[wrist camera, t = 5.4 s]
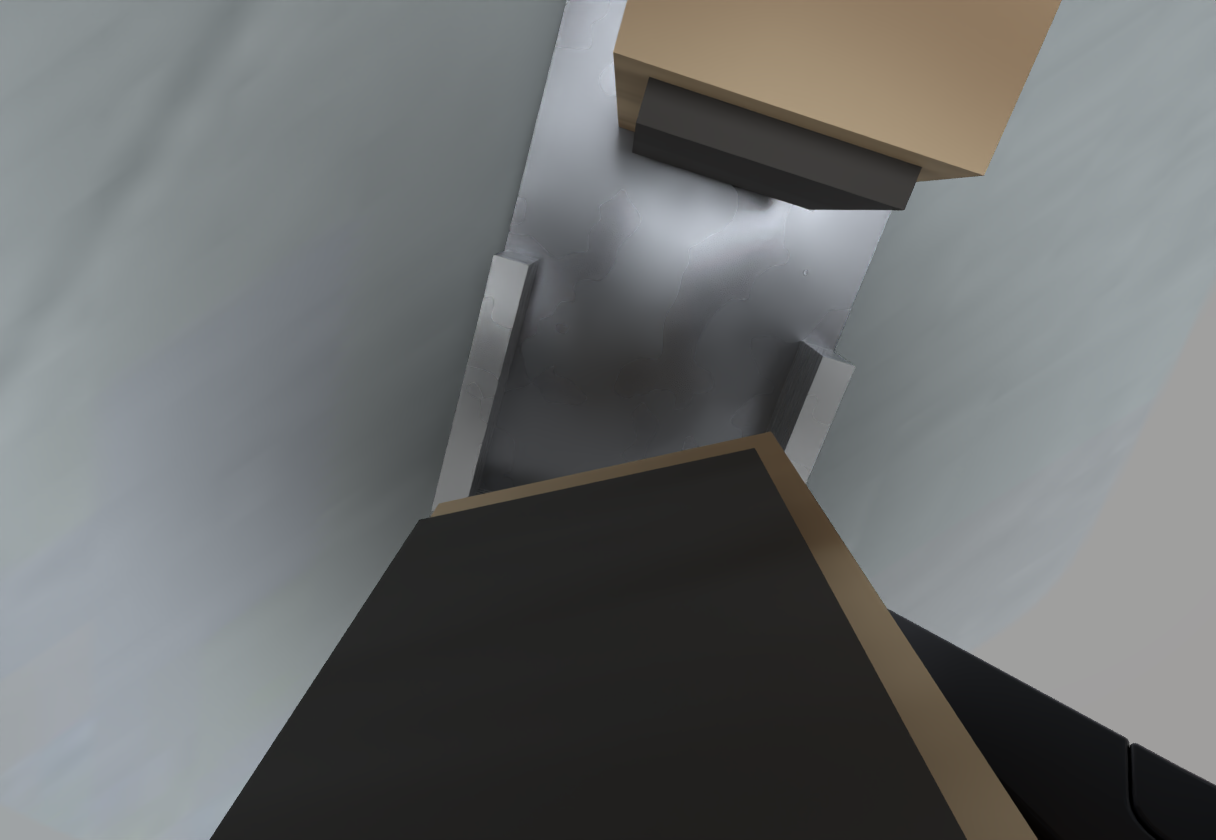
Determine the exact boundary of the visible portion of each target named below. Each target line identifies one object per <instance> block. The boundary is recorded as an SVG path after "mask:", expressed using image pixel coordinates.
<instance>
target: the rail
mask: <svg viewBox="0 0 1216 840" xmlns="http://www.w3.org/2000/svg"><path fill="white" fill-rule="evenodd" d="M626 3H627V0H567V1H566V5H565V9H564V13H563V17H562V21H561V25H560V29H559V33H558V37H557V41H556V45H555V49H554V53H553V57H552V61H551V65H550V69H549V73H548V77H547V81H546V85H545V89H544V93H543V97H542V101H541V105H540V109H539V113H538V117H537V121H536V125H535V129H534V133H533V137H532V141H531V145H530V149H529V153H528V157H527V161H526V165H525V169H524V173H523V177H522V181H521V185H520V189H519V193H518V197H517V201H516V205H515V209H514V213H513V217H512V221H511V225H510V229H509V233H508V237H507V241H506V245H505V250H504V251H503V252H500V253H497V254H494V256H493V260H492V265H491V269H490V273H489V277H488V281H487V285H486V289H485V293H484V297H483V301H482V305H481V309H480V314H479V318H478V322H477V326H476V330H475V334H474V338H473V342H472V346H471V350H470V354H469V358H468V363H467V367H466V371H465V375H464V379H463V383H462V387H461V391H460V395H459V399H458V403H457V407H456V412H455V416H454V420H453V424H452V428H451V432H450V436H449V440H448V444H447V448H446V452H445V456H444V460H443V465H442V469H441V473H440V477H439V481H438V485H437V489H436V493H435V497H434V501H433V505H432V509H431V514H430V517H431V515H432V514H433V512H434V510H435V509H436V507H437V506H438V504H439V503H443V502H448V501H453V500H457V499H462V498H466V497H471V496H476V495H480V494H485V493H490V492H494V491H499V490H503V489H508V488H513V487H517V486H522V485H526V484H531V483H536V482H540V481H545V480H550V479H554V478H559V477H563V476H568V475H573V474H577V473H582V472H586V471H591V470H596V469H600V468H605V467H609V466H614V465H619V464H623V463H628V462H633V461H637V460H642V459H646V458H651V457H656V456H660V455H665V454H669V453H674V452H679V451H683V450H688V449H693V448H697V447H702V446H706V445H711V444H716V443H720V442H725V441H729V440H734V439H739V438H743V437H748V436H753V435H757V434H762V433H766V432H772V434H773V435H774V437H775V438H776V440H777V441H778V443H779V444H780V446H781V447H782V449H783V450H784V452H785V454H786V455H787V457H788V458H789V460H790V461H791V463H792V464H793V466H794V467H795V469H796V470H797V472H798V473H799V475H800V476H801V478H802V480H803V481H804V483H805V484H806V483H807V481H808V478H809V476H810V473H811V471H812V469H813V466H814V464H815V462H816V459H817V457H818V455H819V452H820V450H821V447H822V445H823V443H824V440H825V438H826V436H827V433H828V431H829V429H830V426H831V424H832V421H833V419H834V417H835V414H836V412H837V410H838V407H839V405H840V403H841V400H842V398H843V395H844V393H845V391H846V388H847V386H848V384H849V381H850V379H851V377H852V374H853V372H854V369H855V367H856V366H854V365H853V364H851V363H850V362H848V361H847V360H846V359H844V358H843V357H841V356H840V355H838V354H837V353H835V352H834V350H835V347H836V345H837V342H838V340H839V338H840V335H841V333H842V330H843V328H844V325H845V323H846V321H847V318H848V316H849V313H850V311H851V308H852V306H853V303H854V301H855V299H856V296H857V294H858V291H859V289H860V286H861V284H862V282H863V279H864V277H865V274H866V272H867V269H868V267H869V265H870V262H871V260H872V257H873V255H874V252H875V250H876V247H877V245H878V243H879V240H880V238H881V235H882V233H883V230H884V228H885V226H886V223H887V221H888V218H889V216H890V213H891V211H892V210H808V209H805V208H802V207H799V206H796V205H793V204H790V203H787V202H784V201H781V200H777V199H774V198H771V197H768V196H765V195H762V194H759V193H756V192H753V191H750V190H747V189H743V188H740V187H737V186H734V185H731V184H728V183H725V182H722V181H719V180H716V179H713V178H709V177H706V176H703V175H700V174H697V173H694V172H691V171H688V170H685V169H682V168H679V167H675V166H672V165H669V164H666V163H663V162H660V161H657V160H654V159H651V158H648V157H645V156H641V155H638V154H635V153H632V149H633V142H634V134H635V132H634V131H630V130H627V129H624V128H621V127H619V124H618V111H617V98H616V84H615V71H614V58H613V51H614V47H615V43H616V40H617V36H618V32H619V29H620V25H621V21H622V18H623V14H624V10H625V7H626Z"/></svg>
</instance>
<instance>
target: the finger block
mask: <svg viewBox="0 0 1216 840" xmlns="http://www.w3.org/2000/svg"><path fill="white" fill-rule="evenodd" d="M210 840H1038V839H1037V837H1036V836H1035V834H1034V833H1033V831H1032V830H1031V828H1030V827H1029V825H1028V824H1027V822H1026V821H1025V819H1024V817H1023V816H1022V814H1021V813H1020V811H1019V810H1018V808H1017V807H1016V805H1015V804H1014V802H1013V801H1012V799H1011V798H1010V796H1009V795H1008V793H1007V791H1006V790H1005V788H1004V787H1003V785H1002V784H1001V782H1000V781H999V779H998V778H997V776H996V775H995V773H994V772H993V770H992V769H991V767H990V765H989V764H988V762H987V761H986V759H985V758H984V756H983V755H982V753H981V752H980V750H979V749H978V747H977V746H976V744H975V743H974V741H973V739H972V738H971V736H970V735H969V733H968V732H967V730H966V729H965V727H964V726H963V724H962V723H961V721H960V720H959V718H958V717H957V715H956V714H955V712H954V710H953V709H952V707H951V706H950V704H949V703H948V701H947V700H946V698H945V697H944V695H943V694H942V692H941V691H940V689H939V688H938V686H937V684H936V683H935V681H934V680H933V678H932V677H931V675H930V674H929V672H928V671H927V669H926V668H925V666H924V665H923V663H922V662H921V660H920V658H919V657H918V655H917V654H916V652H915V651H914V649H913V648H912V646H911V645H910V643H909V642H908V640H907V639H906V637H905V636H904V634H903V632H902V631H901V629H900V628H899V626H898V625H897V623H896V622H895V620H894V619H893V617H892V616H891V614H890V613H889V611H888V610H887V608H886V606H885V605H884V603H883V602H882V600H881V599H880V597H879V596H878V594H877V593H876V591H875V590H874V588H873V587H872V585H871V584H870V582H869V580H868V579H867V577H866V576H865V574H864V573H863V571H862V570H861V568H860V567H859V565H858V564H857V562H856V561H855V559H854V558H853V556H852V554H851V553H850V551H849V550H848V548H847V547H846V545H845V544H844V542H843V541H842V539H841V538H840V536H839V535H838V533H837V532H836V530H835V528H834V527H833V525H832V524H831V522H830V521H829V519H828V518H827V516H826V515H825V513H824V512H823V510H822V509H821V507H820V506H819V504H818V502H817V501H816V499H815V498H814V496H813V495H812V493H811V492H810V490H809V489H808V487H807V486H806V484H805V483H804V481H803V480H802V478H801V476H800V475H799V473H798V472H797V470H796V469H795V467H794V466H793V464H792V463H791V461H790V460H789V458H788V457H787V455H786V454H785V452H784V450H783V449H782V447H781V446H780V444H779V443H778V441H777V440H776V438H775V437H774V435H773V434H772V432H766V433H762V434H757V435H753V436H748V437H743V438H739V439H734V440H729V441H725V442H720V443H716V444H711V445H706V446H702V447H697V448H693V449H688V450H683V451H679V452H674V453H669V454H665V455H660V456H656V457H651V458H646V459H642V460H637V461H633V462H628V463H623V464H619V465H614V466H609V467H605V468H600V469H596V470H591V471H586V472H582V473H577V474H573V475H568V476H563V477H559V478H554V479H550V480H545V481H540V482H536V483H531V484H526V485H522V486H517V487H513V488H508V489H503V490H499V491H494V492H490V493H485V494H480V495H476V496H471V497H466V498H462V499H457V500H453V501H448V502H443V503H439V504H438V506H437V507H436V509H435V510H434V512H433V514H432V515H431V517H430V518H426V519H421V520H419V521H418V523H417V524H416V526H415V527H414V529H413V530H412V532H411V533H410V535H409V536H408V538H407V539H406V541H405V542H404V544H403V545H402V547H401V549H400V550H399V552H398V553H397V555H396V556H395V558H394V559H393V561H392V562H391V564H390V565H389V567H388V568H387V570H386V571H385V573H384V574H383V576H382V578H381V579H380V581H379V582H378V584H377V585H376V587H375V588H374V590H373V591H372V593H371V594H370V596H369V597H368V599H367V600H366V602H365V603H364V605H363V607H362V608H361V610H360V611H359V613H358V614H357V616H356V617H355V619H354V620H353V622H352V623H351V625H350V626H349V628H348V629H347V631H346V632H345V634H344V635H343V637H342V639H341V640H340V642H339V643H338V645H337V646H336V648H335V649H334V651H333V652H332V654H331V655H330V657H329V658H328V660H327V661H326V663H325V664H324V666H323V668H322V669H321V671H320V672H319V674H318V675H317V677H316V678H315V680H314V681H313V683H312V684H311V686H310V687H309V689H308V690H307V692H306V693H305V695H304V697H303V698H302V700H301V701H300V703H299V704H298V706H297V707H296V709H295V710H294V712H293V713H292V715H291V716H290V718H289V719H288V721H287V722H286V724H285V725H284V727H283V729H282V730H281V732H280V733H279V735H278V736H277V738H276V739H275V741H274V742H273V744H272V745H271V747H270V748H269V750H268V751H267V753H266V754H265V756H264V758H263V759H262V761H261V762H260V764H259V765H258V767H257V768H256V770H255V771H254V773H253V774H252V776H251V777H250V779H249V780H248V782H247V783H246V785H245V787H244V788H243V790H242V791H241V793H240V794H239V796H238V797H237V799H236V800H235V802H234V803H233V805H232V806H231V808H230V809H229V811H228V812H227V814H226V815H225V817H224V819H223V820H222V822H221V823H220V825H219V826H218V828H217V829H216V831H215V832H214V834H213V835H212V837H211V838H210Z"/></svg>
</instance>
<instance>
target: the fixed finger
mask: <svg viewBox="0 0 1216 840" xmlns="http://www.w3.org/2000/svg"><path fill="white" fill-rule="evenodd" d="M1061 1H1062V0H627V3H626V7H625V10H624V14H623V18H622V21H621V25H620V29H619V32H618V36H617V40H616V43H615V47H614V51H613V58H614V71H615V84H616V98H617V111H618V124H619V127H621V128H624V129H627V130H630V131H634V132H635V134H634V142H633V149H632V153H635V154H638V155H641V156H645V157H648V158H651V159H654V160H657V161H660V162H663V163H666V164H669V165H672V166H675V167H679V168H682V169H685V170H688V171H691V172H694V173H697V174H700V175H703V176H706V177H709V178H713V179H716V180H719V181H722V182H725V183H728V184H731V185H734V186H737V187H740V188H743V189H747V190H750V191H753V192H756V193H759V194H762V195H765V196H768V197H771V198H774V199H777V200H781V201H784V202H787V203H790V204H793V205H796V206H799V207H802V208H805V209H808V210H905V207H906V205H907V202H908V200H909V198H910V195H911V193H912V190H913V188H914V186H915V183H916V182H920V181H930V180H941V179H952V178H962V177H973V176H984V174H985V172H986V170H987V168H988V165H989V163H990V161H991V159H992V156H993V154H994V152H995V150H996V147H997V145H998V143H999V141H1000V138H1001V136H1002V134H1003V132H1004V129H1005V127H1006V125H1007V123H1008V120H1009V118H1010V116H1011V114H1012V111H1013V109H1014V107H1015V104H1016V102H1017V100H1018V98H1019V95H1020V93H1021V91H1022V89H1023V86H1024V84H1025V82H1026V80H1027V77H1028V75H1029V73H1030V71H1031V68H1032V66H1033V64H1034V62H1035V59H1036V57H1037V55H1038V53H1039V50H1040V48H1041V46H1042V44H1043V41H1044V39H1045V37H1046V35H1047V32H1048V30H1049V28H1050V26H1051V23H1052V21H1053V19H1054V16H1055V14H1056V12H1057V10H1058V7H1059V5H1060V3H1061Z"/></svg>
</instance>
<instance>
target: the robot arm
mask: <svg viewBox="0 0 1216 840" xmlns="http://www.w3.org/2000/svg"><path fill="white" fill-rule="evenodd" d="M887 610H888V611H889V613H890V614H891V616H892V617H893V619H894V620H895V622H896V623H897V625H898V626H899V628H900V629H901V631H902V632H903V634H904V636H905V637H906V639H907V640H908V642H909V643H910V645H911V646H912V648H913V649H914V651H915V652H916V654H917V655H918V657H919V658H920V660H921V662H922V663H923V665H924V666H925V668H926V669H927V671H928V672H929V674H930V675H931V677H932V678H933V680H934V681H935V683H936V684H937V686H938V688H939V689H940V691H941V692H942V694H943V695H944V697H945V698H946V700H947V701H948V703H949V704H950V706H951V707H952V709H953V710H954V712H955V714H956V715H957V717H958V718H959V720H960V721H961V723H962V724H963V726H964V727H965V729H966V730H967V732H968V733H969V735H970V736H971V738H972V739H973V741H974V743H975V744H976V746H977V747H978V749H979V750H980V752H981V753H982V755H983V756H984V758H985V759H986V761H987V762H988V764H989V765H990V767H991V769H992V770H993V772H994V773H995V775H996V776H997V778H998V779H999V781H1000V782H1001V784H1002V785H1003V787H1004V788H1005V790H1006V791H1007V793H1008V795H1009V796H1010V798H1011V799H1012V801H1013V802H1014V804H1015V805H1016V807H1017V808H1018V810H1019V811H1020V813H1021V814H1022V816H1023V817H1024V819H1025V821H1026V822H1027V824H1028V825H1029V827H1030V828H1031V830H1032V831H1033V833H1034V834H1035V836H1036V837H1037V839H1038V840H1216V785H1214V784H1212V783H1210V782H1209V781H1206V780H1205V779H1203V778H1201V777H1199V776H1197V775H1195V774H1193V773H1191V772H1189V771H1187V770H1185V769H1183V768H1181V767H1179V766H1178V765H1176V764H1174V763H1172V762H1170V761H1169V760H1167V759H1165V758H1163V757H1161V756H1159V755H1157V754H1155V753H1154V752H1152V751H1150V750H1148V749H1146V748H1144V747H1143V746H1141V745H1139V744H1136V743H1133V744H1131V745H1130V748H1129V741H1128V739H1127V738H1125V737H1124V736H1122V735H1120V734H1118V733H1116V732H1114V731H1113V730H1111V729H1109V728H1107V727H1105V726H1103V725H1101V724H1099V723H1098V722H1096V721H1094V720H1092V719H1090V718H1088V717H1087V716H1085V715H1083V714H1081V713H1079V712H1077V711H1075V710H1074V709H1072V708H1070V707H1068V706H1066V705H1064V704H1063V703H1061V702H1059V701H1057V700H1055V699H1053V698H1052V697H1050V696H1048V695H1046V694H1044V693H1042V692H1040V691H1039V690H1037V689H1035V688H1033V687H1031V686H1029V685H1028V684H1026V683H1024V682H1022V681H1020V680H1018V679H1016V678H1015V677H1013V676H1011V675H1009V674H1007V673H1005V672H1003V671H1002V670H1000V669H998V668H996V667H994V666H992V665H990V664H989V663H987V662H985V661H983V660H981V659H979V658H978V657H976V656H974V655H972V654H970V653H968V652H967V651H965V650H963V649H961V648H959V647H957V646H955V645H954V644H952V643H950V642H948V641H946V640H944V639H943V638H941V637H939V636H937V635H935V634H933V633H931V632H930V631H928V630H926V629H924V628H922V627H920V626H919V625H917V624H915V623H913V622H911V621H909V620H907V619H906V618H904V617H902V616H900V615H898V614H896V613H895V612H893V611H891V610H889V609H887Z"/></svg>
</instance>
